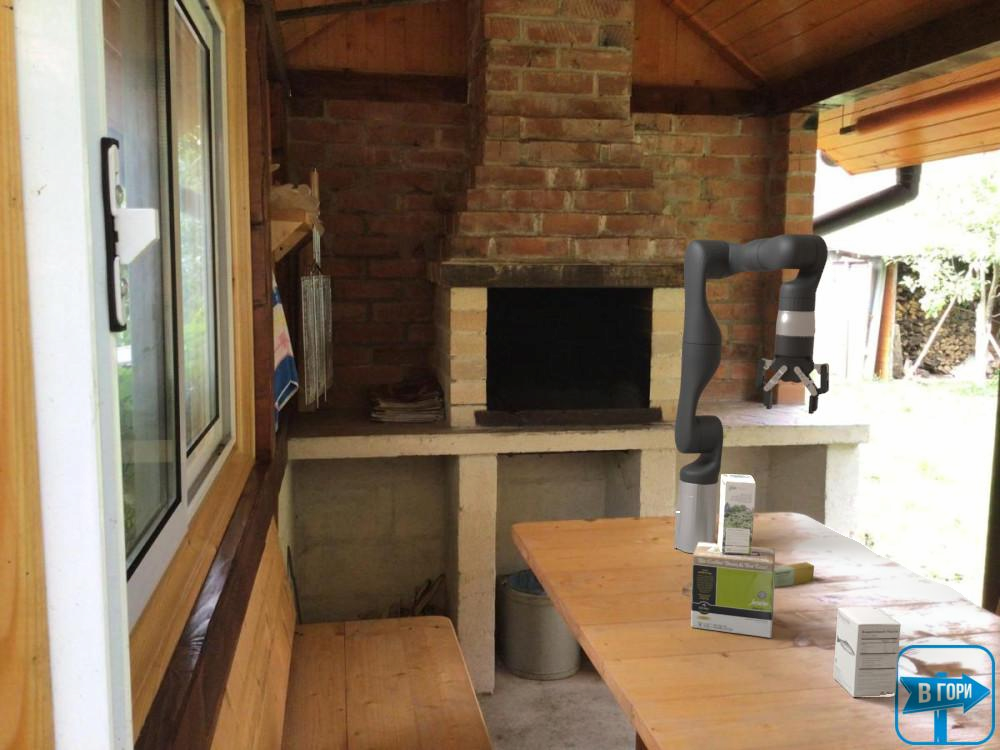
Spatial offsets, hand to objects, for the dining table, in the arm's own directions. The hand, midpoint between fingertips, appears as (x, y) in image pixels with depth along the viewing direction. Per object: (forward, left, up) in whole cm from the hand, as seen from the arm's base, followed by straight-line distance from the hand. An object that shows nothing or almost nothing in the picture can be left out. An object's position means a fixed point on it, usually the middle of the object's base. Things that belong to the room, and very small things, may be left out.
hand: (789, 411), depth 182 cm
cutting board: (-11, -6, -40) cm, 41 cm away
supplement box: (+21, -36, -40) cm, 58 cm away
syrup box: (-5, -21, -25) cm, 33 cm away
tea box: (-5, -21, -40) cm, 45 cm away
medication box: (0, +9, -40) cm, 41 cm away
